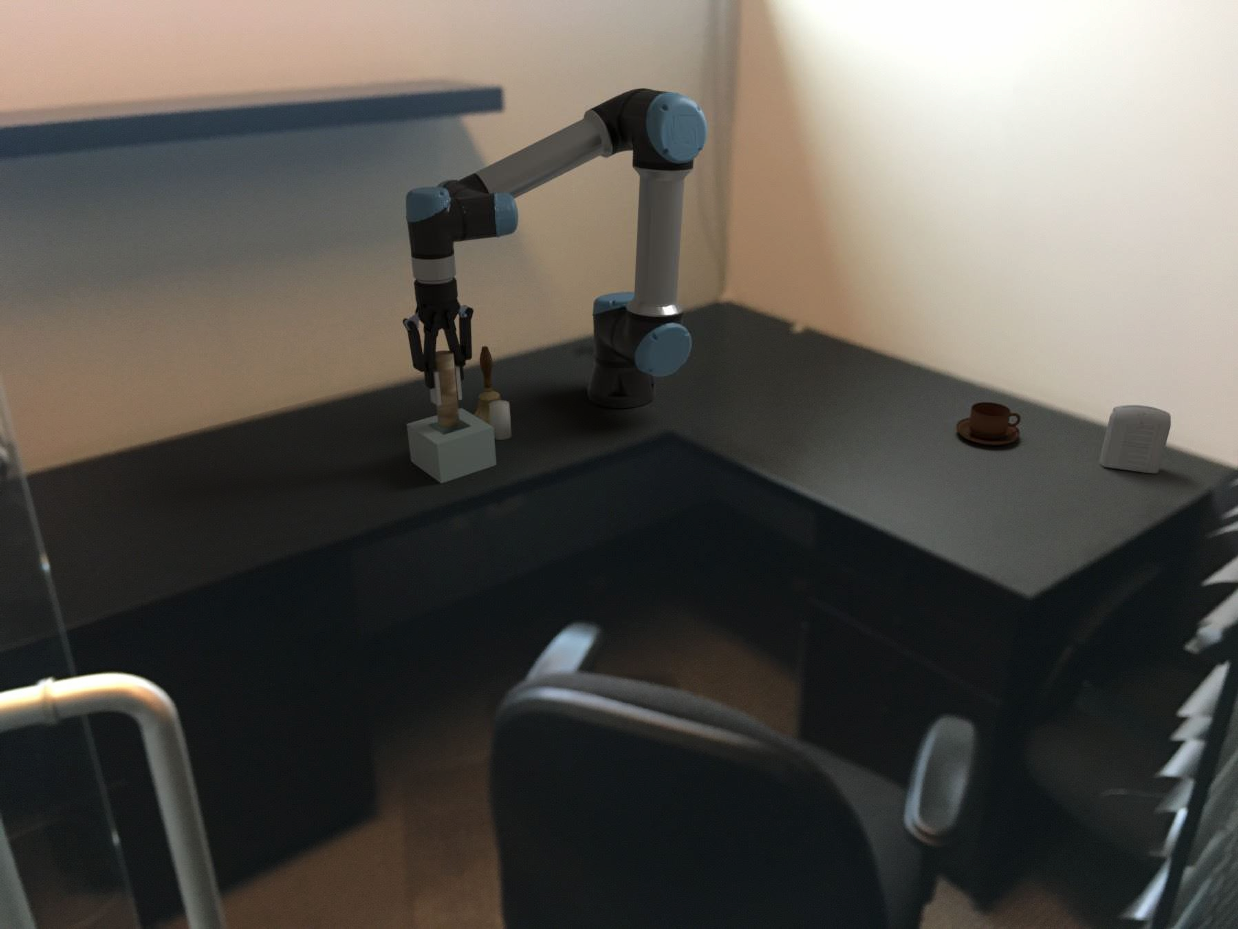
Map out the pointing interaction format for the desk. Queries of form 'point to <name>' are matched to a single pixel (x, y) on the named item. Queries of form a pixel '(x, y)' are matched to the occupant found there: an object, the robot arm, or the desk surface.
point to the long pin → (447, 390)
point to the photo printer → (1135, 438)
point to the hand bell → (486, 387)
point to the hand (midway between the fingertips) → (446, 400)
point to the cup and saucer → (989, 424)
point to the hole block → (452, 446)
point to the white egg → (500, 419)
